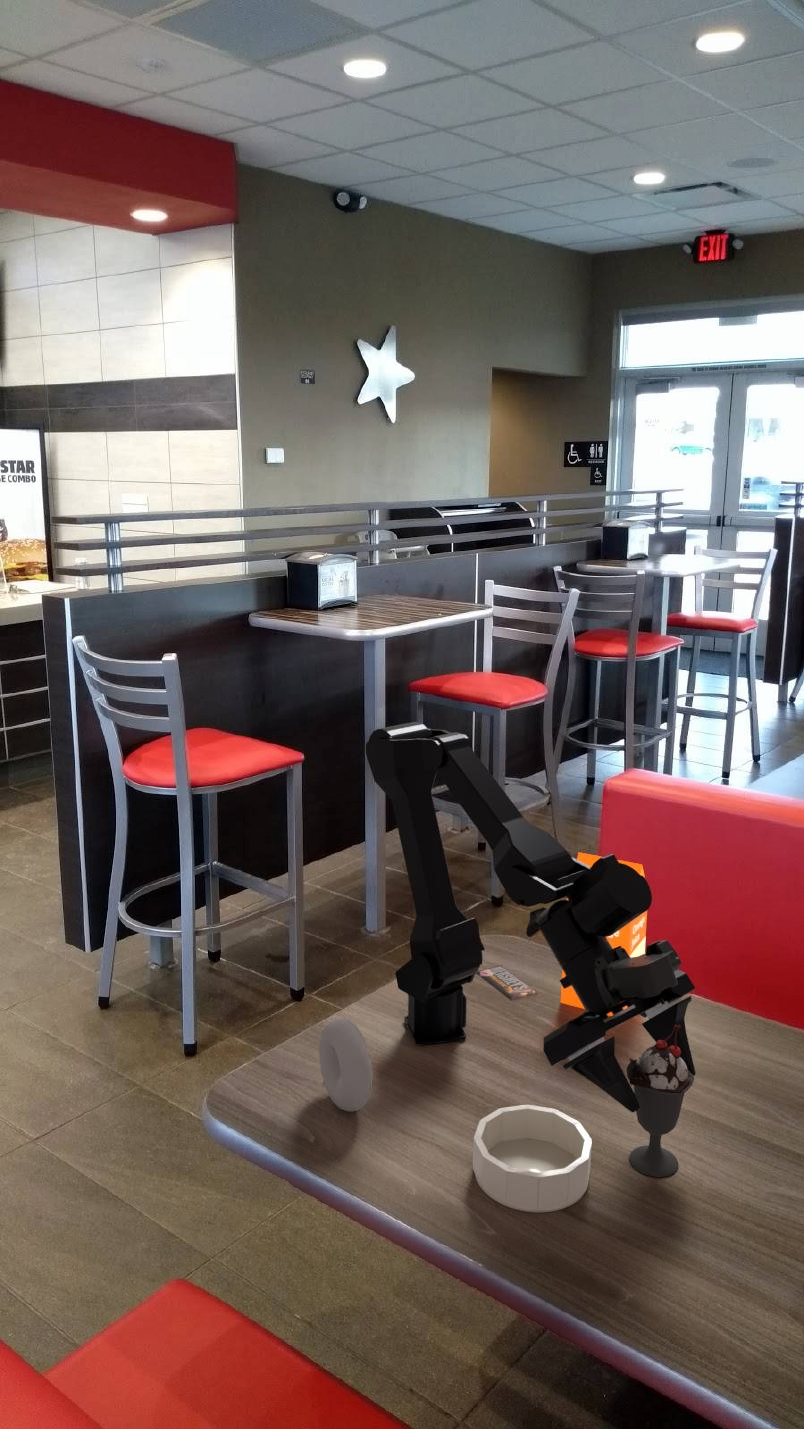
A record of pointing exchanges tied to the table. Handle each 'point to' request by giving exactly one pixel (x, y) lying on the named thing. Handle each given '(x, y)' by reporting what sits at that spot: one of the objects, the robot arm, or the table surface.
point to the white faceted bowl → (532, 1158)
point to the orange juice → (627, 937)
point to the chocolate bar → (506, 983)
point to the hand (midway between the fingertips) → (664, 1093)
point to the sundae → (658, 1103)
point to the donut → (345, 1064)
